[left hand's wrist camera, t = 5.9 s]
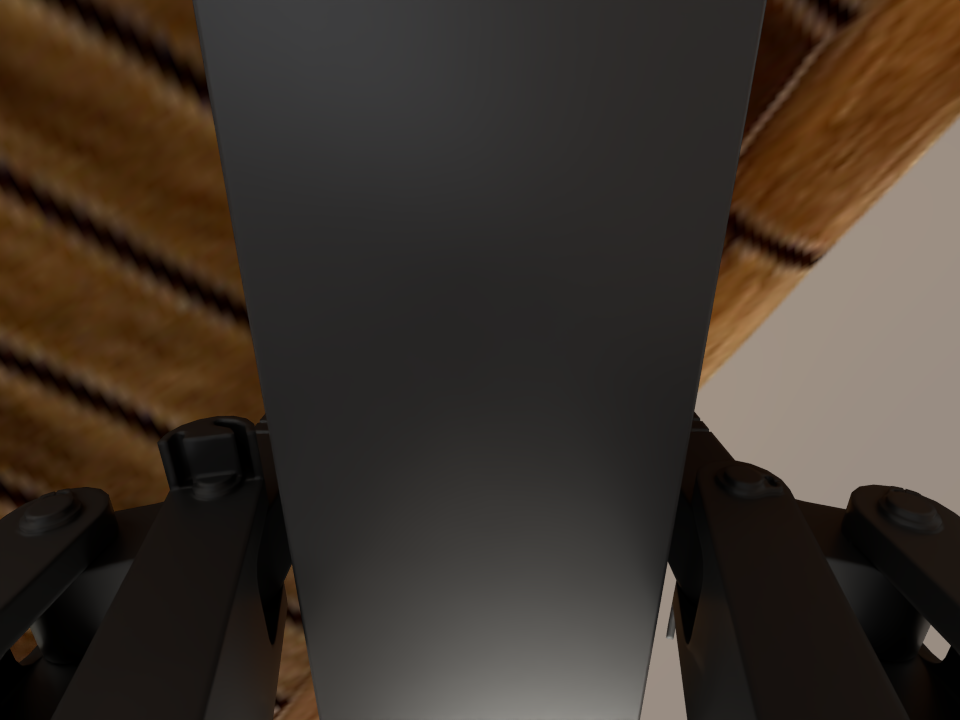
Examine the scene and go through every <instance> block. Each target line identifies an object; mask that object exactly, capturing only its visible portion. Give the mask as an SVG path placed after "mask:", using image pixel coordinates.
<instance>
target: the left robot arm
mask: <svg viewBox="0 0 960 720" xmlns="http://www.w3.org/2000/svg"><path fill="white" fill-rule="evenodd" d="M157 443H158V447H159V451H160V454H161V458H162V462H163V465H164V469H165V473H166V476H167V480H168V484H169V487H170V492H169V494H168V495H167V497H166V499H165V501H164V502H161V503H157V504H152V505H147V506H141V507H136V508H131V509H126V510H120V511H115V512H114V510H113V507H112V504H111V501H110V498H109V495H108V494H107V493H105V492H104V491H103V490H101V489H97V488H89V487H83V488H73V489H63V490H58V491H57V492H55V491H54V492H51V493H48V494H45V495H42V496H41V497H39V498H38V499H35V500H33V501H30V502H28V503H26V504H24V505H22V506H20V507H19V508H17V509H16V510H14V511H12V512H11V513H9V514H8V515H6V516H5V517H3V518H2V519H1V520H0V720H273V714H274V707H275V699H276V691H277V683H278V675H279V668H280V660H281V652H282V644H283V636H284V628H285V621H286V613H287V605H288V604H287V597H286V591H285V586H284V580H285V578H286V576H287V573H288V571H289V569H290V567H291V565H292V560H291V555H290V549H289V543H288V538H287V532H286V526H285V521H284V515H283V510H282V504H281V498H280V493H279V487H278V481H277V476H276V470H275V464H274V459H273V453H272V447H271V442H270V436H269V430H268V425H267V419H266V414H265V415H264V416H263V417H262V418H261V420H260V423H257V424H256V426H254V424H253V423H252V422H251V421H249V420H248V419H246V418H241V417H237V416H216V417H210V418H205V419H199V420H196V421H193V422H190V423H187V424H184V425H181V426H180V427H178V428H176V429H174V430H172V431H170V432H169V433H167V434H166V435H165V436H164V437H163V438H162V439H160V440H159V441H158V442H157ZM668 563H669V565H670V567H671V569H672V571H673V574H674V576H675V578H676V586H675V591H674V596H673V602H672V607H671V612H670V618H669V623H668V628H667V636H666V638H669V639H673V638H674V632H675V628H676V635H677V643H678V651H679V658H680V666H681V674H682V682H683V690H684V697H685V705H686V713H687V720H960V517H959V516H958V515H957V514H955V513H954V512H952V511H951V510H949V509H948V508H946V507H944V506H943V505H941V504H939V503H938V502H936V501H934V500H931V499H929V498H927V497H924V496H922V495H921V494H919V493H917V492H914V491H911V490H908V489H906V490H904V489H903V488H899V487H895V486H882V485H868V486H860V487H858V488H857V489H856V490H854V491H853V492H852V493H851V496H850V499H849V502H848V505H847V508H846V509H842V508H836V507H831V506H826V505H820V504H815V503H810V502H805V501H801V500H797V499H795V498H794V496H793V494H792V493H791V491H790V489H789V488H788V487H787V486H786V484H785V483H784V482H783V481H782V480H781V479H780V478H778V477H777V476H775V475H774V474H772V473H771V472H769V471H767V470H765V469H763V468H760V467H758V466H755V465H752V464H749V463H745V462H740V461H735V460H734V459H733V457H732V456H731V455H730V454H729V453H728V451H727V450H726V449H725V448H724V447H723V445H722V444H721V443H720V442H719V441H718V439H717V438H716V437H715V436H714V435H713V433H712V432H709V429H708V427H707V426H706V425H705V424H704V423H703V421H700V418H699V417H698V415H697V414H696V413H695V412H694V415H693V421H692V426H691V432H690V438H689V443H688V449H687V455H686V460H685V466H684V472H683V477H682V483H681V489H680V494H679V500H678V506H677V511H676V517H675V523H674V528H673V534H672V540H671V545H670V551H669V557H668ZM930 625H932V626H933V627H934V628H935V629H936V630H937V631H938V632H939V633H940V635H941V636H942V637H943V638H944V639H945V640H946V641H947V642H948V643H949V644H950V645H951V647H950V649H949V651H948V653H947V655H946V657H945V658H944V660H943V661H941V660H940V659H938V658H937V657H936V656H935V655H934V654H932V653H931V651H930V650H929V649H928V648H927V647H926V646H925V645H924V644H923V641H924V639H925V636H926V634H927V632H928V630H929V627H930ZM29 628H30V629H31V631H32V633H33V635H34V637H35V640H36V642H37V644H38V645H37V646H36V648H35V649H34V650H33V651H32V652H31V653H30V654H29V655H28V656H27V657H26V658H24V659H23V660H22V661H21V662H19V663H18V662H17V661H16V660H15V658H14V656H13V654H12V652H11V650H10V648H11V647H12V646H13V645H14V643H15V642H16V641H17V640H18V639H19V638H20V637H21V636H22V635H23V634H24V633H25V632H26V631H27V630H28V629H29Z"/></svg>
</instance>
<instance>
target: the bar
mask: <svg viewBox="0 0 960 720" xmlns="http://www.w3.org/2000/svg"><path fill="white" fill-rule="evenodd" d="M766 1H767V0H193V6H194V12H195V17H196V23H197V29H198V34H199V40H200V46H201V51H202V57H203V63H204V68H205V74H206V80H207V85H208V91H209V97H210V102H211V108H212V114H213V119H214V125H215V131H216V136H217V142H218V147H219V153H220V159H221V164H222V170H223V176H224V181H225V187H226V193H227V198H228V204H229V210H230V215H231V221H232V227H233V232H234V238H235V244H236V249H237V255H238V261H239V266H240V272H241V278H242V283H243V289H244V295H245V300H246V306H247V312H248V317H249V323H250V328H251V334H252V340H253V345H254V351H255V357H256V362H257V368H258V374H259V379H260V385H261V391H262V396H263V402H264V408H265V413H266V419H267V425H268V430H269V436H270V442H271V447H272V453H273V459H274V464H275V470H276V476H277V481H278V487H279V493H280V498H281V504H282V510H283V515H284V521H285V526H286V532H287V538H288V543H289V549H290V555H291V560H292V566H293V572H294V577H295V583H296V589H297V594H298V600H299V606H300V611H301V617H302V623H303V628H304V634H305V640H306V645H307V651H308V657H309V662H310V668H311V674H312V679H313V685H314V691H315V696H316V702H317V708H318V713H319V719H320V720H640V715H641V710H642V704H643V698H644V693H645V687H646V681H647V676H648V670H649V664H650V659H651V653H652V647H653V642H654V636H655V630H656V625H657V619H658V613H659V608H660V602H661V596H662V591H663V585H664V579H665V574H666V568H667V562H668V557H669V551H670V545H671V540H672V534H673V528H674V523H675V517H676V511H677V506H678V500H679V494H680V489H681V483H682V477H683V472H684V466H685V460H686V455H687V449H688V443H689V438H690V432H691V426H692V421H693V415H694V409H695V404H696V398H697V392H698V387H699V381H700V375H701V370H702V364H703V358H704V353H705V347H706V341H707V336H708V330H709V324H710V319H711V313H712V307H713V302H714V296H715V290H716V285H717V279H718V273H719V268H720V262H721V256H722V251H723V245H724V239H725V234H726V228H727V222H728V217H729V211H730V205H731V200H732V194H733V188H734V183H735V177H736V171H737V166H738V160H739V154H740V149H741V143H742V137H743V132H744V126H745V120H746V115H747V109H748V103H749V98H750V92H751V86H752V81H753V75H754V69H755V64H756V58H757V52H758V47H759V41H760V35H761V30H762V24H763V18H764V13H765V7H766Z"/></svg>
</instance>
